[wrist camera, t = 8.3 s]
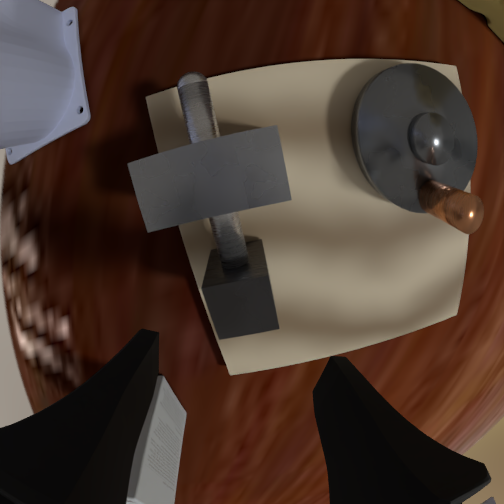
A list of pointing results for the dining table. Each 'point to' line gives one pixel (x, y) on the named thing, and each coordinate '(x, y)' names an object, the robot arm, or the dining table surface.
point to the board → (322, 219)
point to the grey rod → (228, 240)
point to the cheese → (489, 13)
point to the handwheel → (418, 143)
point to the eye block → (211, 178)
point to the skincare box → (158, 450)
